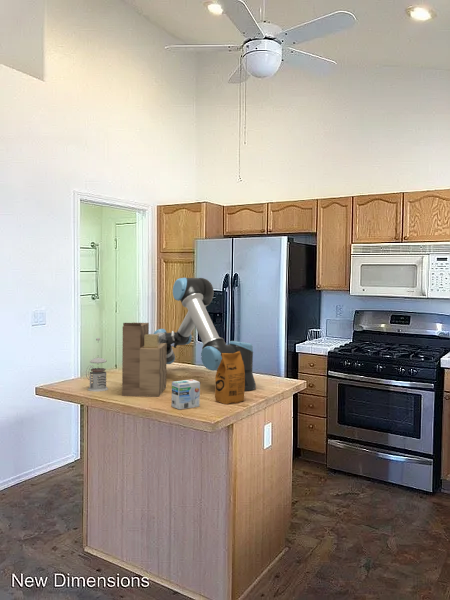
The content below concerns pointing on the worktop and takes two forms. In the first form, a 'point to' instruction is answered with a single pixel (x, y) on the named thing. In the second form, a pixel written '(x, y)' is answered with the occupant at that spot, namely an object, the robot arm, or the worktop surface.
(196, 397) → the light bulb box
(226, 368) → the coffee package
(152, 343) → the wooden bar
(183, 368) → the worktop surface
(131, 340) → the stepped stand
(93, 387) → the french press
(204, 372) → the worktop surface
